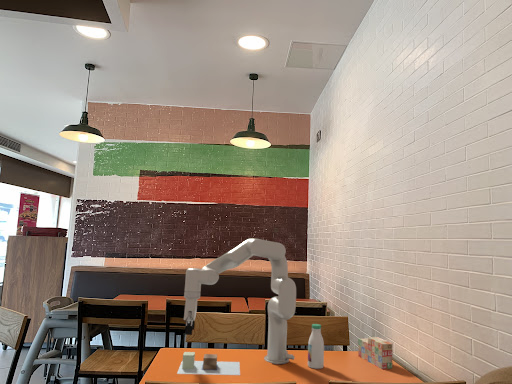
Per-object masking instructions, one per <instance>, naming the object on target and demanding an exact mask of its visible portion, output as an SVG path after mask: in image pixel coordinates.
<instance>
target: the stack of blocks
mask: <svg viewBox="0 0 512 384" xmlns="http://www.w3.org/2000/svg"><path fill="white" fill-rule="evenodd" d="M357 342H358V343H357V344H358V345H357V346H358V357H360V358H362V360H365V361H367V362H368V363H371V364H372V365H374V366H375V367H377V368H379V369H380V370H388V369H393V346H394V345H393V343H392V342H390V341H389V340H386V339H383V338H381V337H378V336H372V337H366V338H358V341H357Z"/></svg>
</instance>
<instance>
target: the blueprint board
mask: <svg viewBox="0 0 512 384" xmlns="http://www.w3.org/2000/svg"><path fill="white" fill-rule="evenodd" d="M182 364H183V360H182V361H181V362H180V365H179V368H178V370H177V372H176V374H177V375H211V376H212V375H214V376H215V375H216V376H217V375H218V376H219V375H220V376H241V369H240V368H241V367H240V365H241V363H240V361H218V360H217V367H216V370H209V369H203V360H194V368H193V369H182Z"/></svg>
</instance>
